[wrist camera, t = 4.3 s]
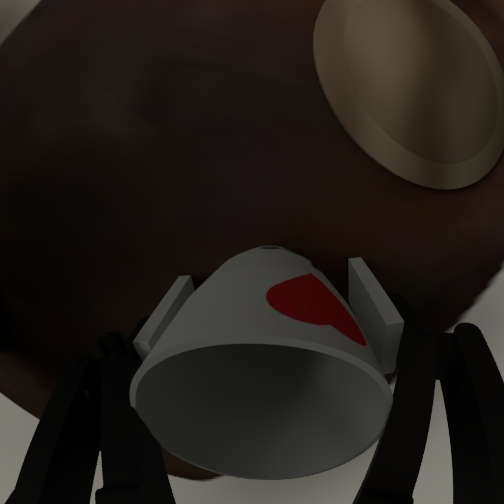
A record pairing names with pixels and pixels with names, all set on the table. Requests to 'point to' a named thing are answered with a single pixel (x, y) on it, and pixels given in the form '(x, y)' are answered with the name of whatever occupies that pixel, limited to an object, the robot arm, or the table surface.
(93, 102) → the table surface
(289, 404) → the cup
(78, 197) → the table surface
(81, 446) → the robot arm
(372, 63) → the plate
